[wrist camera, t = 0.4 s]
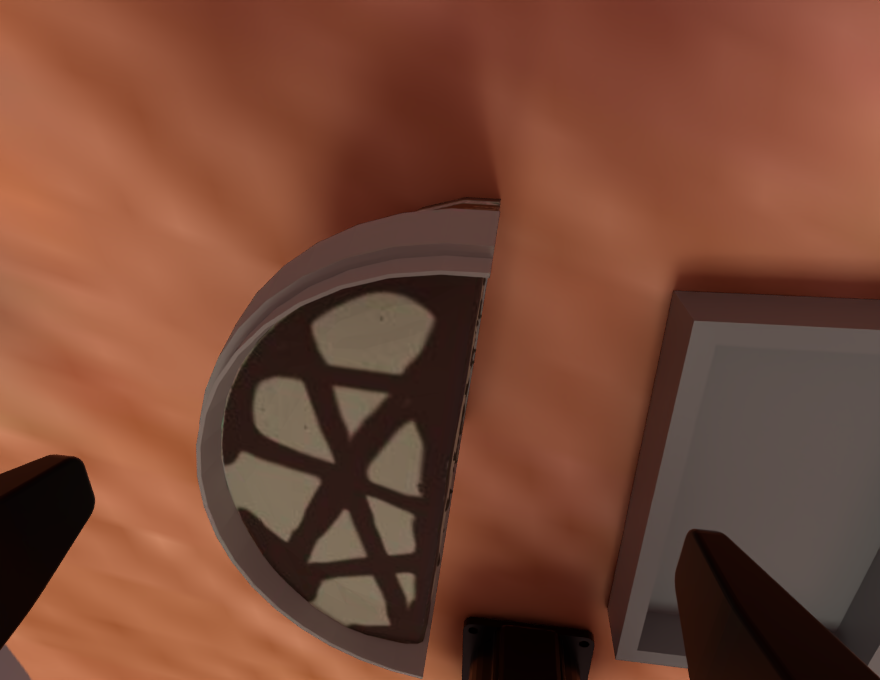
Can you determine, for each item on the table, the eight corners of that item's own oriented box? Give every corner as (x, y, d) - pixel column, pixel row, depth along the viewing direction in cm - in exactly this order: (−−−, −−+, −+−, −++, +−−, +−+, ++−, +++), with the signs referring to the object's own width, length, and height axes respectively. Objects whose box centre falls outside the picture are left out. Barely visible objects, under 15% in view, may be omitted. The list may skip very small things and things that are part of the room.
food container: (323, 127, 18) (126, 185, 9) (508, 152, 17) (495, 241, 8) (319, 427, 23) (198, 644, 15) (459, 451, 23) (420, 690, 14)
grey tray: (843, 636, 25) (874, 691, 23) (607, 609, 26) (615, 659, 24) (1016, 305, 17) (1088, 340, 15) (673, 290, 19) (694, 320, 16)
